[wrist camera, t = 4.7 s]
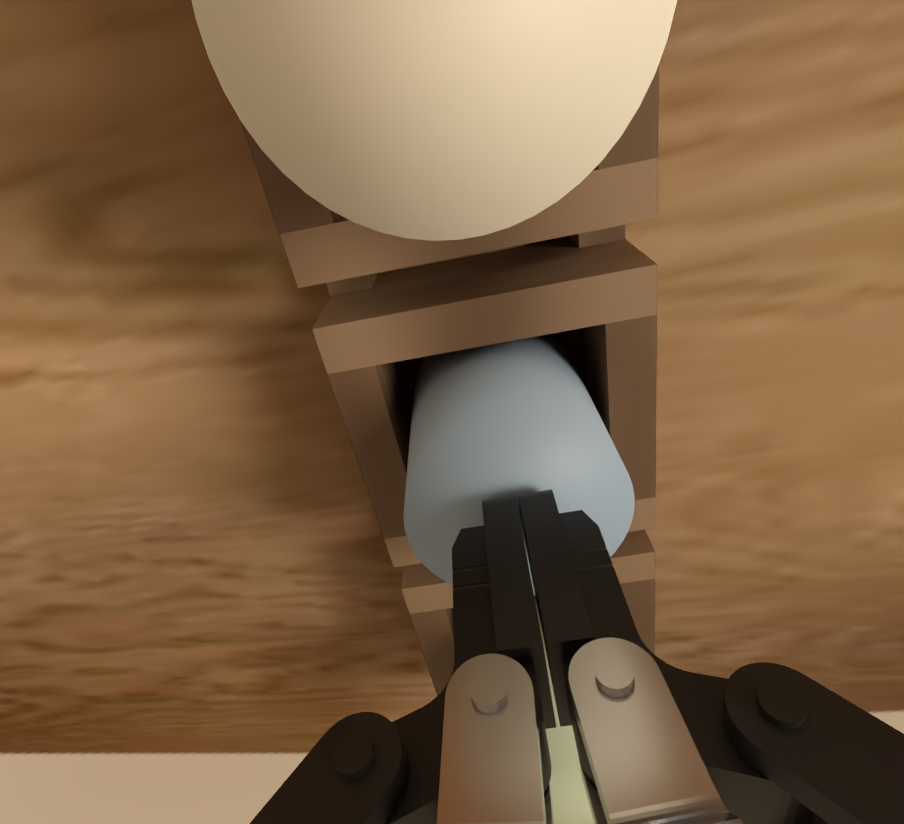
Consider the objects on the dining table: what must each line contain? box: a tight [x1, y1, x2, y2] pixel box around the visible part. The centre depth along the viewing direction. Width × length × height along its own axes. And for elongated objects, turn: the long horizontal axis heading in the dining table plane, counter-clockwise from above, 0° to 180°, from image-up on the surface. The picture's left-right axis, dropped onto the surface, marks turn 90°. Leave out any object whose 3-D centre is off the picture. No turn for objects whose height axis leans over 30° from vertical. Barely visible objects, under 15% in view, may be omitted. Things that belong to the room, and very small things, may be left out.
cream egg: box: [191, 0, 677, 241], centre depth 8 cm, size 5×5×6 cm
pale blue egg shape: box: [403, 334, 635, 595], centre depth 14 cm, size 5×5×6 cm
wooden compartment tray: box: [241, 65, 659, 695], centre depth 16 cm, size 8×27×4 cm, turn 11°
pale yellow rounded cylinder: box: [534, 596, 595, 824], centre depth 17 cm, size 5×5×6 cm
